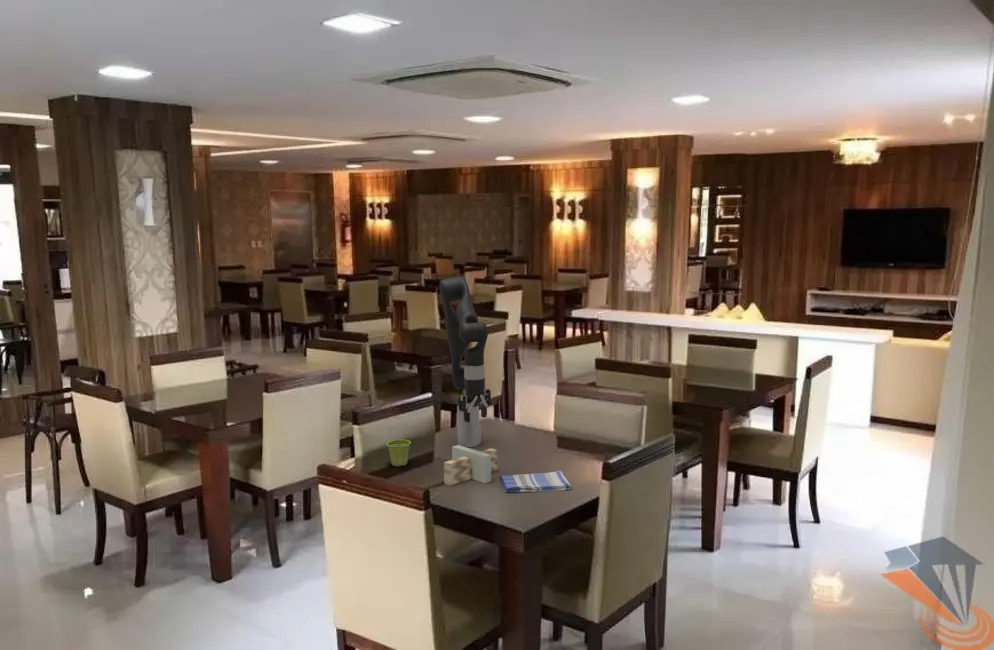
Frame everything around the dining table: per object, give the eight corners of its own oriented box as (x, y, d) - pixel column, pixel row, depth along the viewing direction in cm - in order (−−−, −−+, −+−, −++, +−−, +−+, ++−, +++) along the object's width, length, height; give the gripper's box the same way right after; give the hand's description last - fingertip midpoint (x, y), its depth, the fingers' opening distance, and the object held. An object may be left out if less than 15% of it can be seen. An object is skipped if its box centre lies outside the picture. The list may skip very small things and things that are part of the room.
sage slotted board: (458, 470, 278) (458, 445, 277) (491, 481, 265) (490, 454, 264) (452, 472, 276) (452, 446, 275) (485, 483, 263) (484, 456, 262)
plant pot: (404, 468, 281) (404, 447, 280) (383, 466, 284) (382, 445, 283) (415, 461, 290) (414, 440, 289) (394, 459, 293) (393, 438, 292)
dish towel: (572, 491, 255) (572, 484, 255) (505, 495, 253) (505, 487, 252) (561, 475, 272) (561, 468, 272) (499, 479, 270) (499, 471, 269)
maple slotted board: (491, 468, 280) (491, 448, 279) (497, 470, 278) (496, 449, 277) (444, 483, 263) (443, 462, 263) (449, 485, 261) (449, 464, 260)
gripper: (481, 372, 275) (482, 413, 278) (453, 378, 265) (454, 421, 267) (495, 374, 270) (496, 417, 272) (467, 381, 260) (468, 425, 262)
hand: (475, 419), depth 270 cm, fingers open, 8 cm apart
